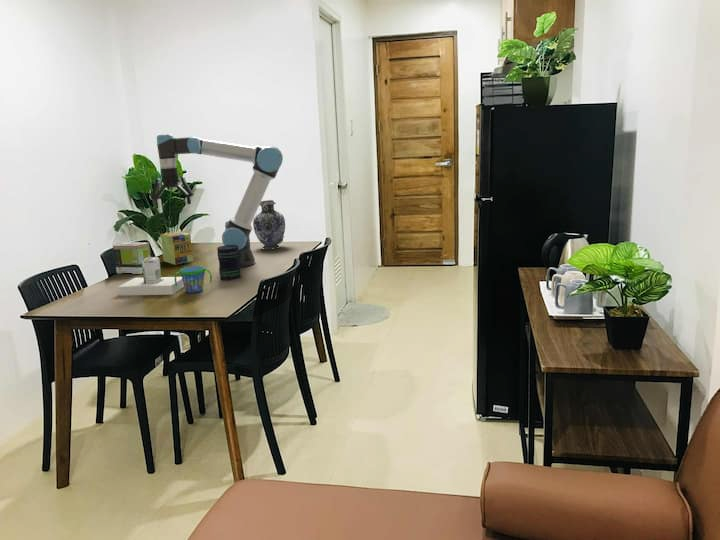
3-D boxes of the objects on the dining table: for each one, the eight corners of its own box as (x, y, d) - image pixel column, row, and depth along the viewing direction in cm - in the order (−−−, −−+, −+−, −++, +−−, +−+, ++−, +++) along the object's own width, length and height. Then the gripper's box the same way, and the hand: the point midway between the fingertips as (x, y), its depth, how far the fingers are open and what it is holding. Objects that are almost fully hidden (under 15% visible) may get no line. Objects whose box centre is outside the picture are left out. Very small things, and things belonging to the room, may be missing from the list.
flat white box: (186, 285, 272) (185, 276, 271) (172, 294, 257) (171, 285, 256) (136, 286, 275) (134, 277, 274) (119, 295, 259) (118, 286, 258)
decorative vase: (284, 250, 342) (280, 202, 336) (252, 252, 342) (247, 204, 336) (289, 244, 363) (285, 198, 357) (259, 245, 363) (254, 200, 357)
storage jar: (233, 274, 289) (230, 244, 286) (245, 277, 282) (242, 246, 279) (215, 278, 282) (212, 247, 279) (227, 281, 275) (224, 249, 272)
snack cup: (213, 286, 268) (210, 264, 265) (212, 292, 258) (210, 269, 255) (176, 290, 264) (174, 267, 262) (175, 296, 254) (172, 272, 252)
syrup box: (150, 288, 269) (146, 257, 266) (163, 288, 268) (159, 256, 265) (145, 292, 263) (140, 260, 260) (158, 291, 263) (153, 259, 260)
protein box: (175, 265, 317) (172, 236, 314) (163, 261, 329) (160, 233, 325) (193, 261, 324) (190, 233, 320) (181, 258, 335) (178, 231, 332)
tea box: (153, 270, 307) (149, 242, 304) (140, 274, 298) (136, 245, 295) (129, 269, 312) (125, 241, 309) (116, 273, 303) (112, 245, 300)
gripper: (140, 169, 282) (146, 214, 286) (191, 166, 280) (197, 211, 285) (146, 168, 289) (152, 212, 294) (196, 165, 287) (202, 209, 292)
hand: (174, 212), depth 289 cm, fingers open, 13 cm apart
